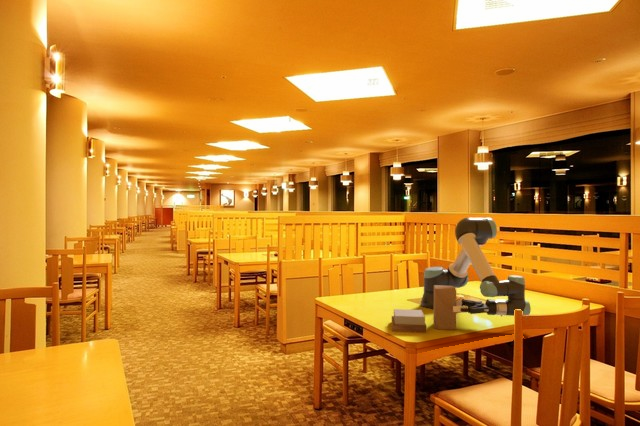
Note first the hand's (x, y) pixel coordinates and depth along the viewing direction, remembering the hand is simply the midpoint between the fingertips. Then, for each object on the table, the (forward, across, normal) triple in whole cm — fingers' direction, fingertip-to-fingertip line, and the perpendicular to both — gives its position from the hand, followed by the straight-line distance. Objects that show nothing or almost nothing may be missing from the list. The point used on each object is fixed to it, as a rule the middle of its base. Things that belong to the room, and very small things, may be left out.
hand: (450, 305), depth 202 cm
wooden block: (+3, +1, -11) cm, 11 cm away
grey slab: (+21, -3, -8) cm, 22 cm away
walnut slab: (+21, -3, -12) cm, 24 cm away
